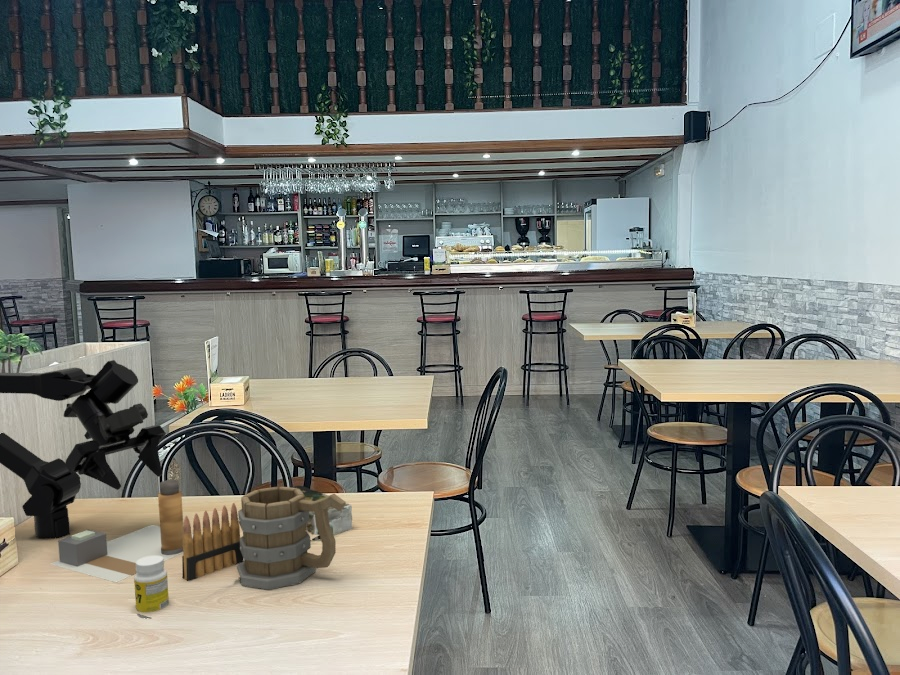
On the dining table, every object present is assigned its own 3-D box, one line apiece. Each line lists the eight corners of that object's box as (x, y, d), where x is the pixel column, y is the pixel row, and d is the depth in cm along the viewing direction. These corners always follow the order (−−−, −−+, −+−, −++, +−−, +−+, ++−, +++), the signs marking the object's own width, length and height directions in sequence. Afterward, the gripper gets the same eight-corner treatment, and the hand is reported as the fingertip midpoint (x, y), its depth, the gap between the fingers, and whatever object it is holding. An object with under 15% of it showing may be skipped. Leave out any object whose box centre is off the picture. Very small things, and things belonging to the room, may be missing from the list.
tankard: (223, 583, 122) (218, 497, 121) (267, 555, 134) (263, 476, 132) (326, 600, 115) (322, 508, 113) (363, 568, 127) (360, 485, 125)
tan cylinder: (156, 552, 133) (151, 484, 132) (174, 544, 137) (170, 478, 135) (172, 556, 131) (167, 486, 130) (190, 548, 135) (186, 480, 133)
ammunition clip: (187, 588, 120) (183, 518, 119) (182, 585, 122) (178, 516, 120) (244, 568, 128) (241, 502, 127) (238, 565, 129) (235, 500, 128)
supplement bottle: (134, 609, 113) (131, 558, 112) (166, 602, 115) (163, 551, 114) (138, 622, 109) (134, 568, 108) (171, 614, 111) (168, 561, 110)
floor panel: (49, 570, 129) (49, 564, 129) (152, 530, 148) (151, 524, 148) (116, 589, 120) (116, 582, 120) (215, 544, 140) (215, 538, 140)
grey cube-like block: (59, 561, 130) (57, 537, 129) (89, 550, 135) (88, 526, 135) (77, 566, 127) (75, 541, 127) (107, 554, 133) (105, 530, 132)
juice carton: (358, 530, 146) (356, 500, 146) (317, 544, 139) (315, 513, 139) (303, 509, 161) (301, 483, 160) (264, 521, 154) (262, 493, 153)
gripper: (70, 400, 129) (115, 467, 125) (156, 385, 146) (198, 443, 141) (46, 440, 134) (89, 505, 129) (132, 420, 150) (173, 478, 146)
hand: (140, 481), depth 136 cm, fingers open, 9 cm apart
